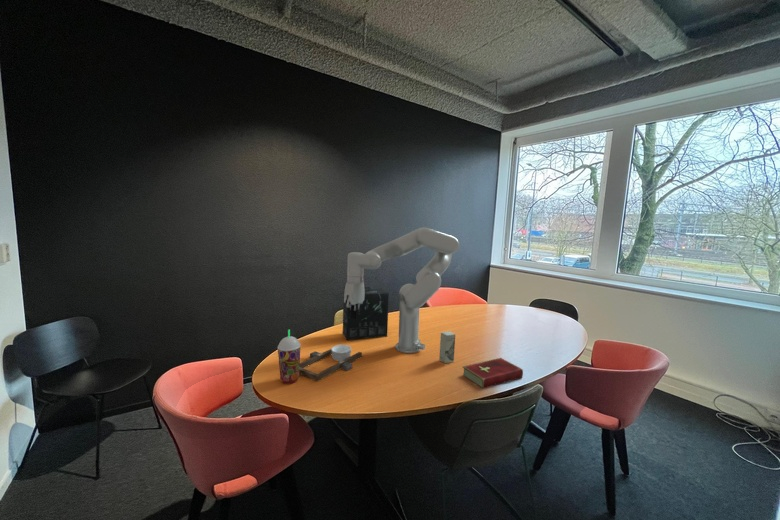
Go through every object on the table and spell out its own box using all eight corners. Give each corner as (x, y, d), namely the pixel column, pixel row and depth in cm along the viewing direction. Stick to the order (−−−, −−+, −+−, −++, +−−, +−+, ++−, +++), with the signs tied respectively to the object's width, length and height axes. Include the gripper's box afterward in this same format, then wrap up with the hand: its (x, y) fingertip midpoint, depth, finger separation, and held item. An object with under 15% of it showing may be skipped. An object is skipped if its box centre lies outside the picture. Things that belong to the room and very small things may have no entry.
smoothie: (288, 388, 117) (287, 335, 114) (273, 381, 121) (272, 330, 119) (305, 378, 124) (305, 328, 121) (290, 373, 128) (290, 324, 126)
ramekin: (353, 360, 141) (353, 351, 141) (333, 363, 138) (333, 353, 138) (348, 352, 150) (348, 343, 149) (329, 354, 147) (329, 345, 146)
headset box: (381, 329, 182) (382, 284, 179) (388, 336, 171) (389, 289, 168) (341, 333, 175) (342, 286, 171) (346, 341, 163) (347, 291, 160)
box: (444, 363, 140) (446, 335, 138) (438, 360, 144) (440, 332, 142) (454, 361, 142) (455, 333, 141) (448, 357, 146) (449, 330, 145)
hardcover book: (522, 378, 130) (523, 368, 129) (482, 389, 120) (483, 379, 120) (500, 366, 140) (500, 357, 140) (462, 375, 131) (462, 365, 130)
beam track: (368, 358, 143) (368, 353, 143) (324, 384, 120) (324, 378, 120) (332, 347, 155) (332, 342, 155) (286, 368, 132) (286, 363, 132)
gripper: (359, 276, 156) (358, 312, 158) (338, 280, 143) (337, 320, 146) (371, 278, 152) (370, 315, 154) (351, 282, 139) (350, 323, 142)
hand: (354, 317), depth 150 cm, fingers closed
